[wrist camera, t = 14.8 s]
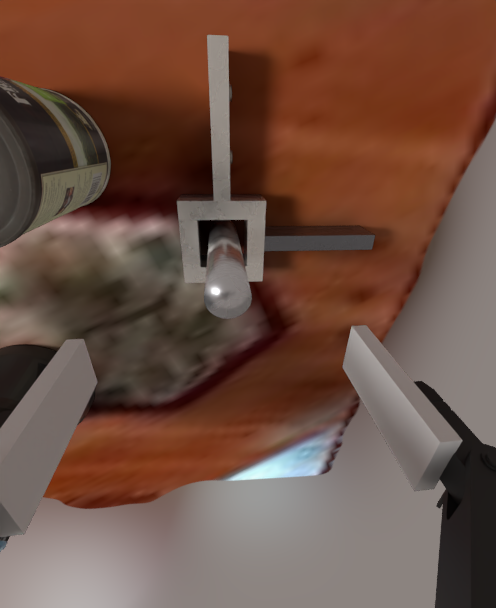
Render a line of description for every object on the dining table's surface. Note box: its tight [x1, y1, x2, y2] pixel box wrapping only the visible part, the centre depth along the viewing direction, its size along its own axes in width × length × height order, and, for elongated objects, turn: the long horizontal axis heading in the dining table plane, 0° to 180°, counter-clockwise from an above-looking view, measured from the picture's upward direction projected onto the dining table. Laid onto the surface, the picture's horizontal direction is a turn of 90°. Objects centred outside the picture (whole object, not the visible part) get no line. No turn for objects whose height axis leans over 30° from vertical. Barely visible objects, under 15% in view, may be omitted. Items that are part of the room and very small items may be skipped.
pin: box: [204, 220, 252, 319], centre depth 26 cm, size 3×3×16 cm
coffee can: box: [0, 76, 111, 247], centre depth 22 cm, size 10×10×14 cm
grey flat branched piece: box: [177, 35, 375, 283], centre depth 29 cm, size 21×21×4 cm
